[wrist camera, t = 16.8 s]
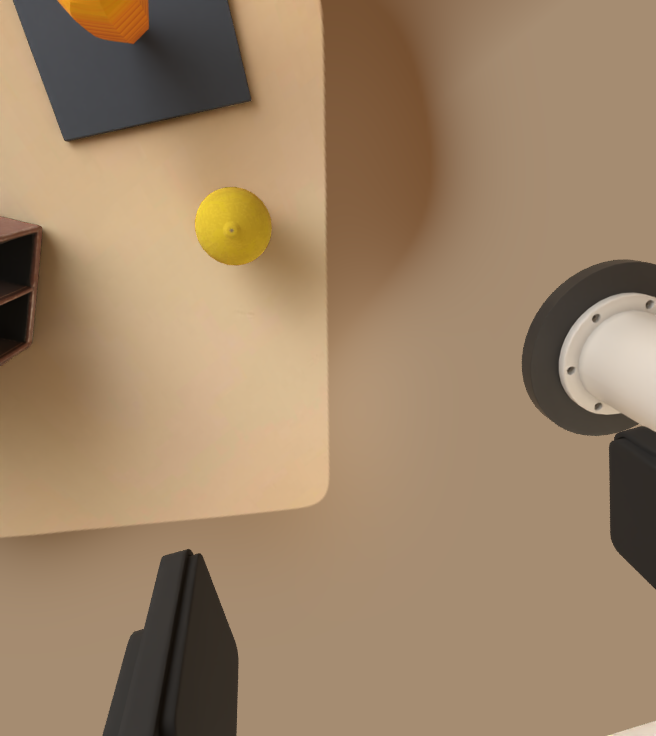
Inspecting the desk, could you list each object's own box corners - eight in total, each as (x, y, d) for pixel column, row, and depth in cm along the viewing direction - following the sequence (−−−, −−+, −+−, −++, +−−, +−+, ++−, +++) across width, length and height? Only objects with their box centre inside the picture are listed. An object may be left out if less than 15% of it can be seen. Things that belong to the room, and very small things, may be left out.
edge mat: (204, -95, 34) (203, -99, 34) (251, 101, 38) (251, 99, 38) (-6, -55, 33) (-9, -58, 33) (66, 141, 37) (64, 141, 37)
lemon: (265, 184, 40) (268, 183, 33) (273, 254, 42) (277, 268, 35) (195, 190, 40) (181, 190, 32) (206, 261, 42) (196, 276, 34)
